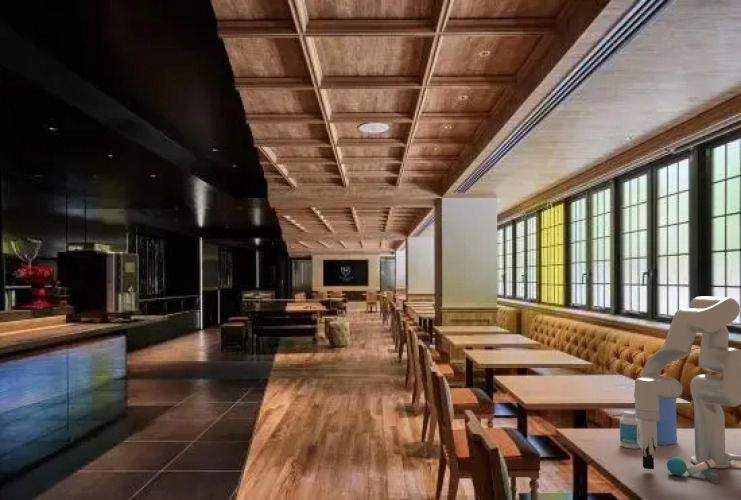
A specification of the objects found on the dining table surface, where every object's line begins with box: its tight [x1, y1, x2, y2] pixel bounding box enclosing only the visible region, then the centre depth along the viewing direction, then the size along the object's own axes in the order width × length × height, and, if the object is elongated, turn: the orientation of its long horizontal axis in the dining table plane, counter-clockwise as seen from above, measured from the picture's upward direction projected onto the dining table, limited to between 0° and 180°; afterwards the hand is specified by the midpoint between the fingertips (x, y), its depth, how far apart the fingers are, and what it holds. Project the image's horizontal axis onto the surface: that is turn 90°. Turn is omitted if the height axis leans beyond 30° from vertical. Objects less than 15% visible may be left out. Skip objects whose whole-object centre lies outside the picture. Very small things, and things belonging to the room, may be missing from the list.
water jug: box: [633, 391, 678, 446], centre depth 243 cm, size 16×16×28 cm
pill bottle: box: [619, 410, 641, 450], centre depth 233 cm, size 8×7×14 cm
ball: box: [666, 456, 688, 476], centre depth 200 cm, size 6×6×6 cm
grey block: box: [700, 468, 720, 484], centre depth 198 cm, size 2×12×2 cm, turn 166°
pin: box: [686, 459, 716, 477], centre depth 198 cm, size 2×2×9 cm
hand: (648, 468), depth 202 cm, fingers closed
